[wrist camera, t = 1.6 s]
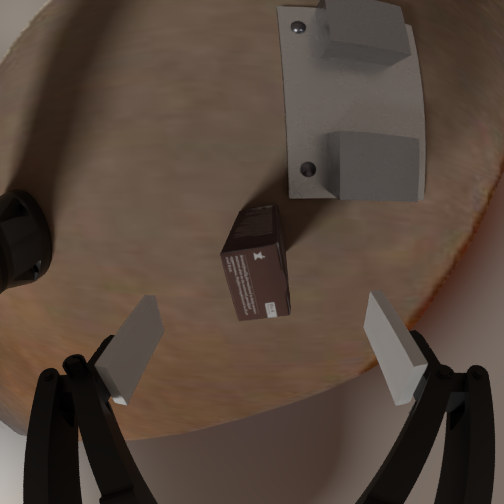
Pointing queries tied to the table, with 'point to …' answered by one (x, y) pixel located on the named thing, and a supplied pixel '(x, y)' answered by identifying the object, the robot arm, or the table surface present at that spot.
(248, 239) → the box
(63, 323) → the table surface
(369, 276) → the table surface
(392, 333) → the robot arm
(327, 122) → the wall mount bracket
